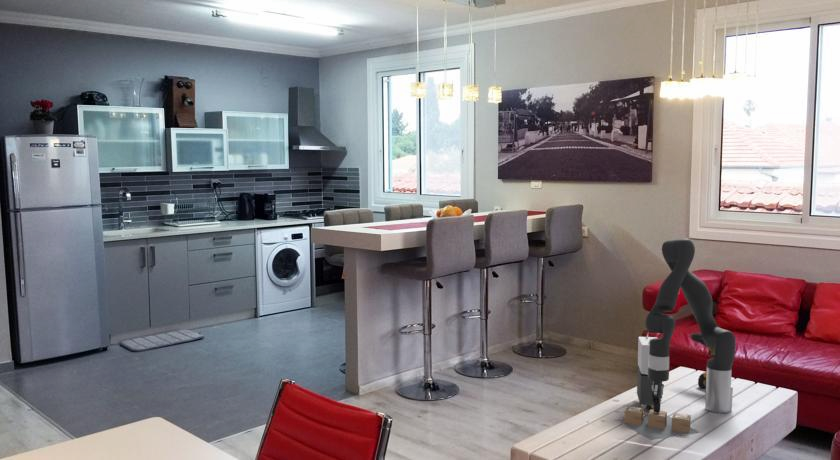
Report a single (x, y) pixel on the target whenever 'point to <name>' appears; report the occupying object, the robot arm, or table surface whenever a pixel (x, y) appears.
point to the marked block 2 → (681, 422)
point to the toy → (644, 373)
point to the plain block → (657, 419)
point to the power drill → (698, 338)
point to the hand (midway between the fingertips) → (656, 411)
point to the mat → (654, 432)
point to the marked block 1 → (634, 416)
